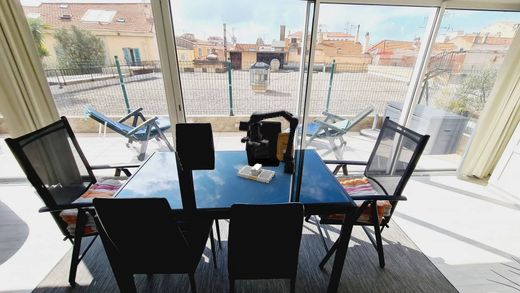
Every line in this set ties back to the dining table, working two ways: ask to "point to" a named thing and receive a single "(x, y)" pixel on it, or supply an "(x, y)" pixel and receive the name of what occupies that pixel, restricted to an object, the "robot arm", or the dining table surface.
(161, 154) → the dining table surface
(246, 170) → the rack
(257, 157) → the magazine
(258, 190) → the dining table surface
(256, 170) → the grey block
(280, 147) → the coffee package
